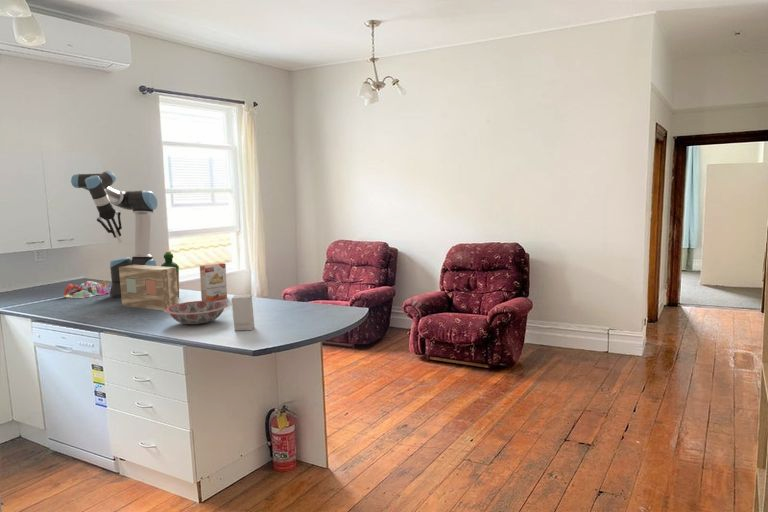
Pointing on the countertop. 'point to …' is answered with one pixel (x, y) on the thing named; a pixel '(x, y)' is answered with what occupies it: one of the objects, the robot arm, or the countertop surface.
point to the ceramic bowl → (196, 311)
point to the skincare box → (243, 312)
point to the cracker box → (213, 281)
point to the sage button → (131, 285)
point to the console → (164, 286)
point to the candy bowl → (87, 289)
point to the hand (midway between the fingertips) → (120, 241)
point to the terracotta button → (151, 287)
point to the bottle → (171, 265)
